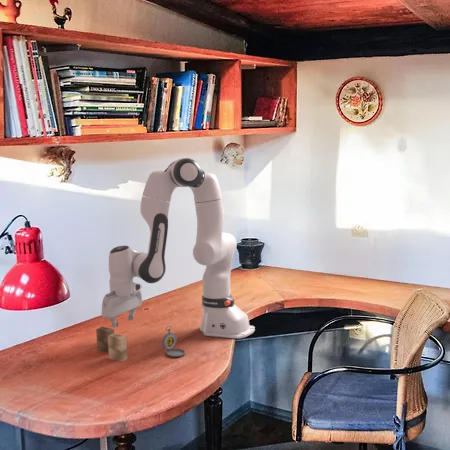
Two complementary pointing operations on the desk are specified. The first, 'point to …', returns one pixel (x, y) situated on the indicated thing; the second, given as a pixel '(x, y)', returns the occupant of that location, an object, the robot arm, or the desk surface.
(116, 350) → the wooden letter t block
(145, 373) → the desk surface
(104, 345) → the wooden letter h block
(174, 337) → the pocket watch
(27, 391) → the desk surface
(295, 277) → the desk surface
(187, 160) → the robot arm
